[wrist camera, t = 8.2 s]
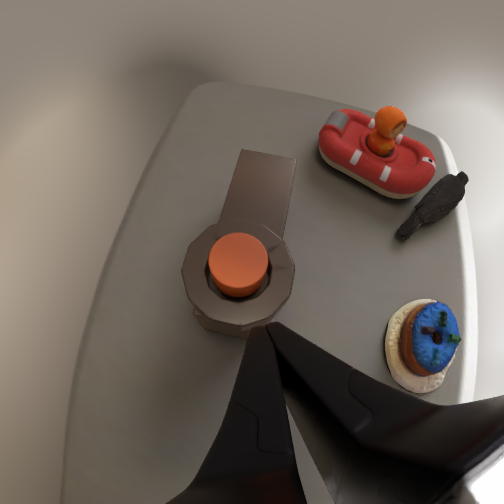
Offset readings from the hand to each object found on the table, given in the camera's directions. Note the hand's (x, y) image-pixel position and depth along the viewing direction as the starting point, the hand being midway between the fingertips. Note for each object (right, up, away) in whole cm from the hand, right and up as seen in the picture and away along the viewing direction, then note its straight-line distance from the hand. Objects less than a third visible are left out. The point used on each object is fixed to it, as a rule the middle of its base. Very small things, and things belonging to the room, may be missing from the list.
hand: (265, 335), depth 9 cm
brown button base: (-1, +2, +15) cm, 15 cm away
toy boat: (+12, +11, +19) cm, 25 cm away
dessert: (+14, -5, +12) cm, 19 cm away
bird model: (+16, +9, +17) cm, 25 cm away
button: (-1, +2, +7) cm, 7 cm away
